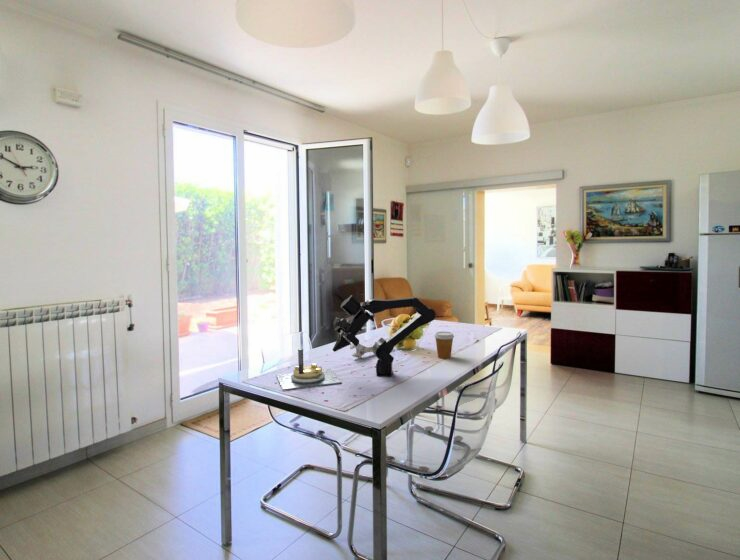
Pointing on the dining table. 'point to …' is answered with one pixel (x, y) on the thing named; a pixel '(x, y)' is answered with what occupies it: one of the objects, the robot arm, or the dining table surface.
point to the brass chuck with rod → (306, 369)
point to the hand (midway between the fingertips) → (333, 350)
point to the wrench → (361, 350)
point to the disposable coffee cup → (444, 344)
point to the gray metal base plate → (307, 380)
